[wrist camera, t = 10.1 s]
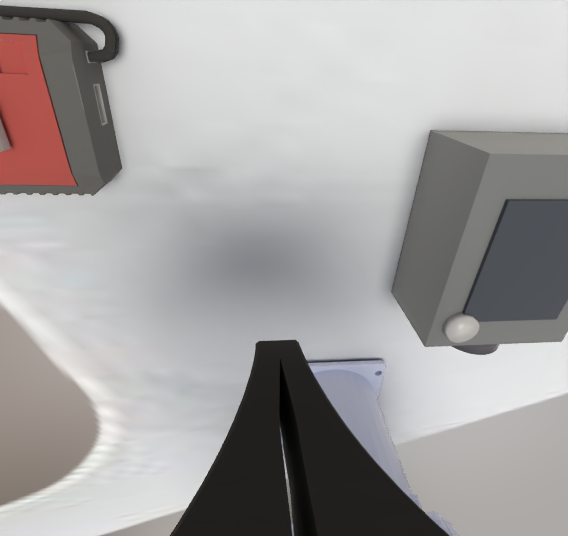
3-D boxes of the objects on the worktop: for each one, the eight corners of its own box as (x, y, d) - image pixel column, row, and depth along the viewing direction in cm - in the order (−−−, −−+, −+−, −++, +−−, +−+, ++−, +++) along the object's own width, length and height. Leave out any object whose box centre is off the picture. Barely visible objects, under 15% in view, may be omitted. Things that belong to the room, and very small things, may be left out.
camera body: (504, 303, 24) (567, 363, 19) (387, 306, 23) (423, 369, 18) (583, 133, 18) (700, 159, 13) (430, 130, 17) (498, 156, 13)
